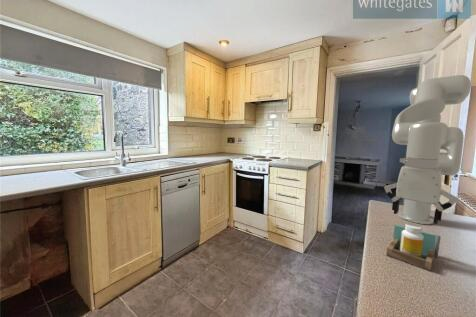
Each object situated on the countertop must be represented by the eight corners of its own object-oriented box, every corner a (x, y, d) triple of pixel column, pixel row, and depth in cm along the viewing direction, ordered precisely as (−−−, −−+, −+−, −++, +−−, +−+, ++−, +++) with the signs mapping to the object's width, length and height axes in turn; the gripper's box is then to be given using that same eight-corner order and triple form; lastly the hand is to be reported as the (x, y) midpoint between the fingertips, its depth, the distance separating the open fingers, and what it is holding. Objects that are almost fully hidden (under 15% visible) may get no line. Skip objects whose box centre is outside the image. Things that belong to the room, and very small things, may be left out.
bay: (394, 244, 74) (394, 237, 74) (433, 257, 66) (434, 250, 66) (386, 255, 67) (387, 248, 67) (430, 271, 59) (431, 263, 59)
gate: (393, 242, 75) (395, 224, 74) (437, 256, 67) (440, 235, 66) (392, 244, 74) (394, 225, 73) (437, 258, 66) (440, 237, 65)
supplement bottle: (425, 261, 64) (429, 230, 63) (405, 258, 65) (408, 228, 64) (414, 251, 69) (417, 223, 68) (396, 249, 70) (399, 221, 69)
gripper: (384, 161, 67) (379, 212, 70) (462, 169, 55) (453, 230, 57) (389, 159, 72) (385, 206, 75) (463, 165, 60) (454, 222, 62)
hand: (414, 217), depth 66 cm, fingers open, 9 cm apart
